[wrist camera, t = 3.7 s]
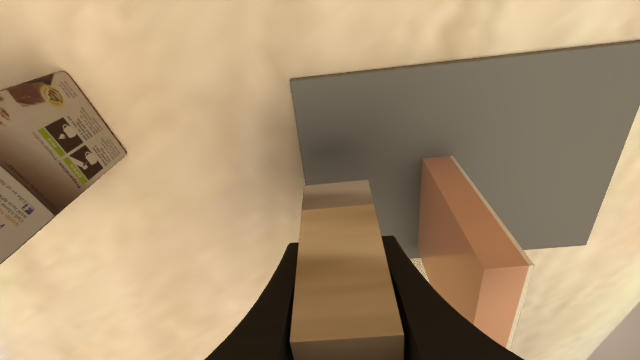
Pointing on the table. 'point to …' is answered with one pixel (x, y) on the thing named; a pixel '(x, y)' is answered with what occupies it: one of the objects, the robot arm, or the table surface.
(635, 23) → the table surface
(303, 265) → the wooden block
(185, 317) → the table surface
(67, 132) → the coffee box
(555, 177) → the mat
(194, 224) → the table surface
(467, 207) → the tile
